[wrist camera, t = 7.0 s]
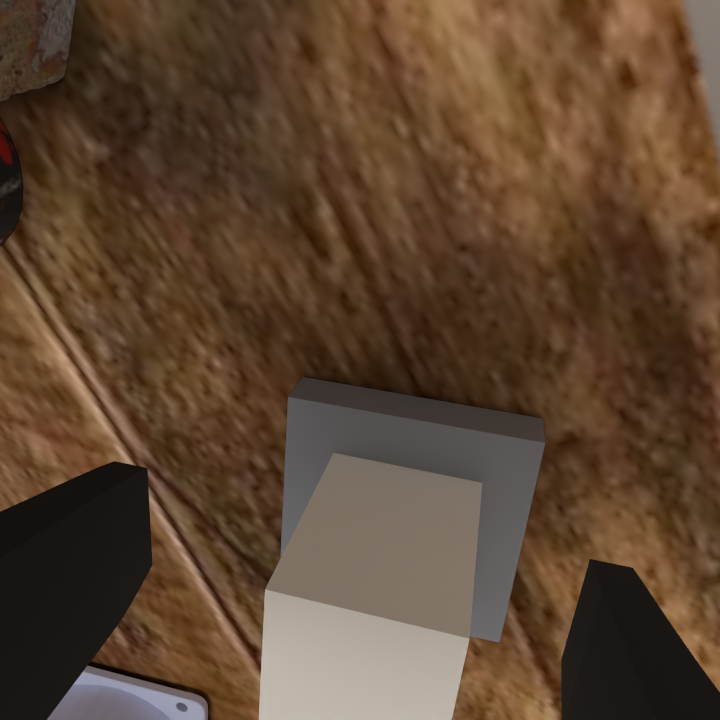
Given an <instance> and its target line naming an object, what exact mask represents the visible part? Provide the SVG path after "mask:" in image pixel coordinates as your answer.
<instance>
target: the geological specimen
mask: <svg viewBox="0 0 720 720" xmlns="http://www.w3.org/2000/svg"><path fill="white" fill-rule="evenodd" d="M75 2H76V0H0V102H1V101H4V100H7V99H9V97H10V96H11V94H18V93H23V92H26V91H28V90H30V89H39V88H42V87H44V86H46V85H47V84H51V83H55V82H57V81H59V80H61V79H62V78H63V77H64V76H65V71H66V66H67V61H68V54H69V47H70V40H71V33H72V26H73V16H74V9H75Z"/></svg>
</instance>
